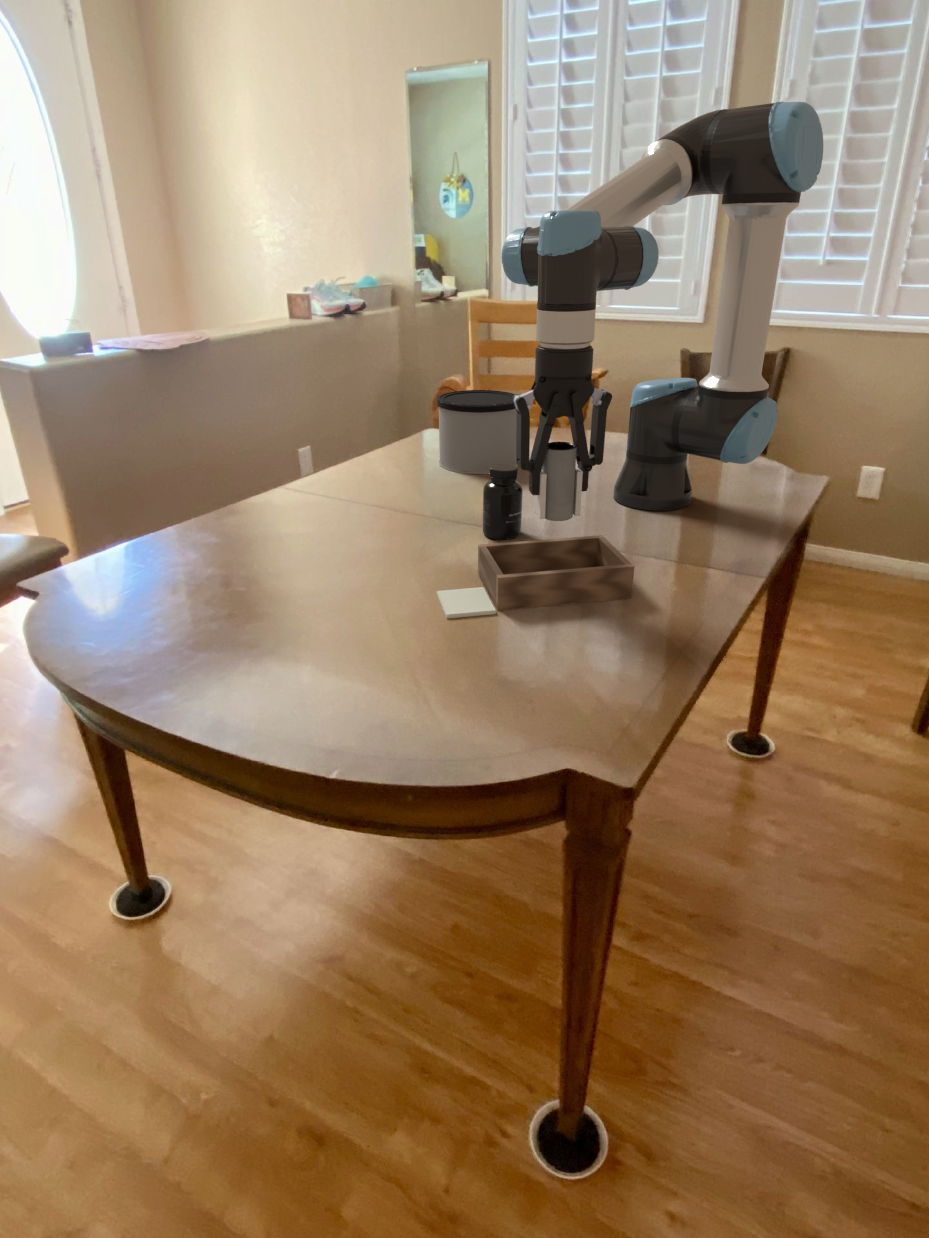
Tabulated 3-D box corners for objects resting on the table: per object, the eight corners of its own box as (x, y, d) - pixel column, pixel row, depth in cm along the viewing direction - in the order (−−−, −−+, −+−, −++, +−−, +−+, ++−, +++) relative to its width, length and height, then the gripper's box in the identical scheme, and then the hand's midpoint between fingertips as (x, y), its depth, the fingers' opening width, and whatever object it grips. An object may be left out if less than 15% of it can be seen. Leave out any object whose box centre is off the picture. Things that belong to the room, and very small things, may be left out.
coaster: (483, 590, 114) (483, 586, 113) (495, 613, 107) (495, 610, 106) (436, 594, 112) (436, 590, 112) (446, 618, 105) (446, 614, 105)
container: (521, 474, 169) (523, 405, 162) (436, 474, 169) (434, 405, 162) (517, 452, 186) (519, 389, 179) (439, 452, 186) (438, 389, 179)
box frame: (599, 564, 122) (602, 535, 120) (631, 598, 111) (634, 566, 109) (478, 574, 119) (478, 544, 117) (497, 610, 108) (498, 578, 105)
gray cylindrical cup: (575, 512, 112) (579, 442, 107) (569, 523, 108) (572, 450, 103) (545, 509, 113) (547, 440, 108) (538, 519, 109) (540, 448, 104)
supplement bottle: (518, 542, 132) (520, 473, 126) (479, 539, 133) (479, 471, 127) (523, 528, 138) (525, 463, 132) (486, 526, 139) (486, 461, 133)
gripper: (617, 337, 104) (605, 501, 115) (492, 343, 101) (492, 510, 112) (639, 345, 98) (624, 518, 108) (506, 351, 95) (504, 528, 105)
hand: (557, 514), depth 110 cm, fingers closed on gray cylindrical cup, 4 cm apart
